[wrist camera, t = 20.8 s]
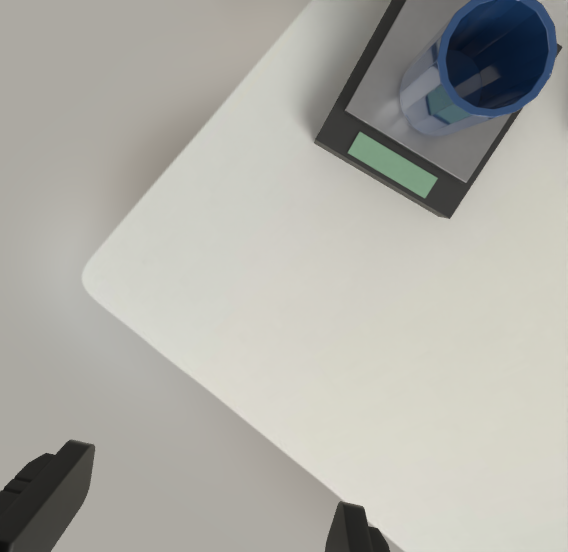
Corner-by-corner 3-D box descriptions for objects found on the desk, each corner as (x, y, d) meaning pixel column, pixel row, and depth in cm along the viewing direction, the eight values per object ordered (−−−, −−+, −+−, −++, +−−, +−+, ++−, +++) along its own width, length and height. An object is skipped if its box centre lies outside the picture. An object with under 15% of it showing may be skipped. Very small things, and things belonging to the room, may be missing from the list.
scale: (314, 143, 37) (315, 139, 34) (408, -29, 33) (418, -50, 30) (438, 216, 38) (450, 219, 35) (542, 58, 35) (564, 45, 32)
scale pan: (343, 112, 33) (345, 110, 32) (423, -31, 31) (427, -38, 30) (461, 183, 34) (466, 183, 33) (547, 50, 32) (555, 46, 31)
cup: (383, 109, 32) (415, 79, 23) (430, 28, 31) (483, -36, 22) (452, 151, 33) (509, 138, 24) (501, 74, 31) (581, 29, 22)
